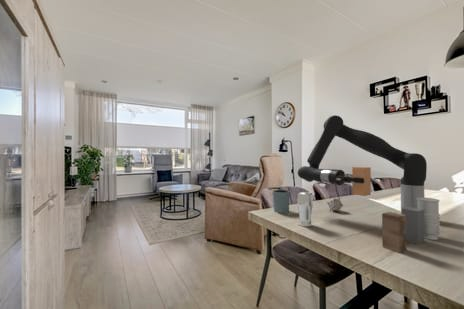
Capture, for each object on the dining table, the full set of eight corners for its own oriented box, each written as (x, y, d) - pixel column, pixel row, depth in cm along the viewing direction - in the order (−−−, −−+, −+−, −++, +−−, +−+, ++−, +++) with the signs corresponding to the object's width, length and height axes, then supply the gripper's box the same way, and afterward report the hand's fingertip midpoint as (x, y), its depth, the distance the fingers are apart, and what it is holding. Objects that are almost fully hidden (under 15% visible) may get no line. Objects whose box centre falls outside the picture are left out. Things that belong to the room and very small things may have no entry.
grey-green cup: (272, 213, 120) (272, 192, 120) (272, 208, 130) (272, 189, 130) (291, 213, 118) (291, 192, 118) (289, 209, 128) (289, 189, 128)
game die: (337, 217, 124) (348, 203, 124) (336, 215, 117) (347, 200, 117) (324, 207, 129) (334, 194, 129) (321, 205, 123) (332, 191, 122)
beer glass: (295, 222, 103) (294, 192, 103) (309, 222, 104) (308, 191, 104) (301, 227, 96) (300, 194, 96) (315, 226, 97) (315, 194, 97)
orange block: (359, 193, 96) (359, 166, 96) (370, 194, 92) (370, 167, 92) (352, 194, 94) (352, 167, 94) (363, 196, 90) (363, 167, 89)
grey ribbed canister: (412, 233, 88) (411, 197, 88) (429, 233, 87) (428, 197, 87) (426, 240, 81) (426, 201, 81) (445, 240, 81) (444, 200, 81)
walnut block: (390, 244, 78) (389, 211, 78) (406, 249, 73) (405, 215, 73) (382, 247, 75) (382, 213, 75) (398, 252, 71) (398, 217, 71)
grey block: (408, 236, 84) (408, 206, 84) (424, 241, 80) (424, 209, 80) (402, 239, 82) (401, 208, 82) (418, 244, 77) (417, 211, 77)
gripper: (322, 169, 102) (357, 172, 87) (341, 168, 109) (377, 170, 94) (322, 185, 102) (357, 190, 87) (341, 183, 109) (377, 187, 94)
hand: (367, 180), depth 91 cm, fingers closed on orange block, 5 cm apart
